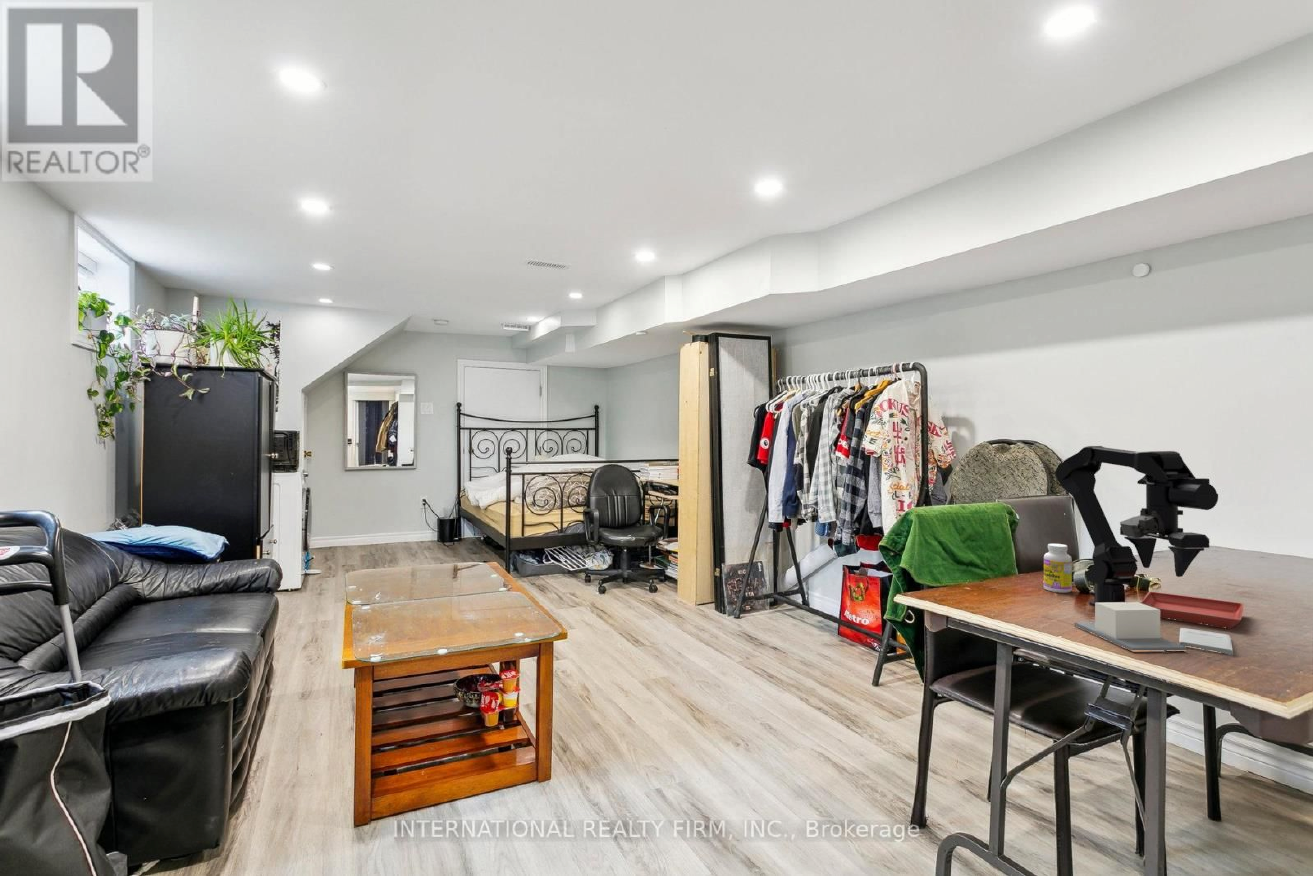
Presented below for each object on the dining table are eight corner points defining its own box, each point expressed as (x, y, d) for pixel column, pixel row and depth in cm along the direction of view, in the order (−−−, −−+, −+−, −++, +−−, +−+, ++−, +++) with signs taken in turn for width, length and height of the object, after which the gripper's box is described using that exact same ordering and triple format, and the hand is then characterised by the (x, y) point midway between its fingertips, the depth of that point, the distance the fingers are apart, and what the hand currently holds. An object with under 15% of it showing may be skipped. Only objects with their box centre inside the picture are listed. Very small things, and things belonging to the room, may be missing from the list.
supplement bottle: (1038, 588, 176) (1037, 543, 176) (1055, 586, 178) (1055, 542, 178) (1059, 594, 170) (1059, 547, 170) (1077, 592, 172) (1077, 546, 172)
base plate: (1074, 626, 141) (1074, 611, 141) (1122, 626, 141) (1122, 610, 141) (1132, 652, 124) (1132, 635, 124) (1186, 652, 124) (1186, 634, 124)
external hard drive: (1179, 649, 128) (1180, 634, 137) (1233, 658, 122) (1230, 641, 132) (1179, 641, 128) (1179, 626, 137) (1233, 650, 122) (1230, 634, 132)
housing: (1115, 638, 130) (1115, 610, 130) (1095, 629, 136) (1095, 602, 136) (1160, 638, 130) (1160, 609, 130) (1137, 629, 136) (1137, 602, 136)
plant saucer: (1138, 617, 149) (1138, 604, 149) (1149, 603, 162) (1148, 590, 162) (1241, 634, 136) (1241, 619, 136) (1243, 617, 149) (1243, 603, 149)
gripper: (1098, 501, 152) (1098, 564, 152) (1160, 510, 133) (1160, 582, 134) (1143, 500, 152) (1143, 563, 152) (1211, 509, 134) (1211, 581, 134)
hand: (1162, 572), depth 143 cm, fingers open, 9 cm apart
